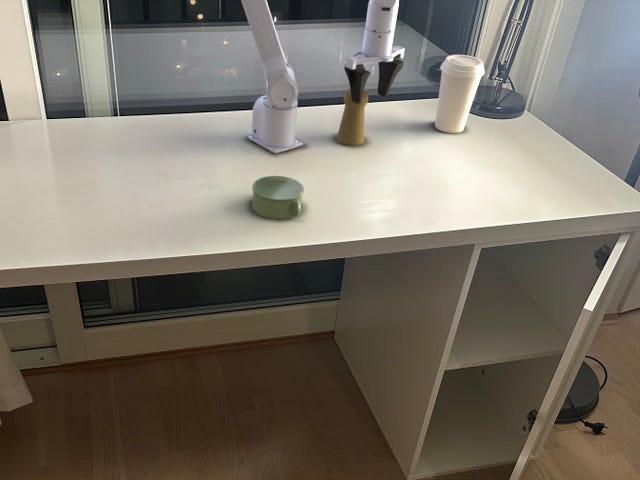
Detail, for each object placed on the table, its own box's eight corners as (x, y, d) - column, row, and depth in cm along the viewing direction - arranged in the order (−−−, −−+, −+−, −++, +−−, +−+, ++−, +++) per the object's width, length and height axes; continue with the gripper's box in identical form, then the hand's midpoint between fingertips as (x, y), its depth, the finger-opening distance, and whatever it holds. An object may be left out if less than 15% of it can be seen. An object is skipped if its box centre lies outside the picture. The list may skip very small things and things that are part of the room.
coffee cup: (423, 119, 166) (436, 53, 157) (462, 119, 167) (477, 53, 158) (435, 135, 159) (450, 67, 149) (475, 135, 160) (493, 67, 150)
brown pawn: (362, 147, 153) (370, 96, 145) (335, 143, 153) (341, 92, 146) (365, 136, 157) (372, 86, 150) (338, 133, 158) (344, 83, 151)
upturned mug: (241, 203, 131) (241, 183, 128) (280, 190, 135) (281, 171, 133) (276, 227, 125) (278, 207, 122) (316, 213, 129) (318, 193, 127)
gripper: (367, 39, 132) (357, 111, 140) (420, 29, 139) (407, 98, 147) (341, 29, 136) (333, 100, 144) (394, 20, 143) (383, 87, 151)
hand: (369, 98), depth 146 cm, fingers open, 7 cm apart
